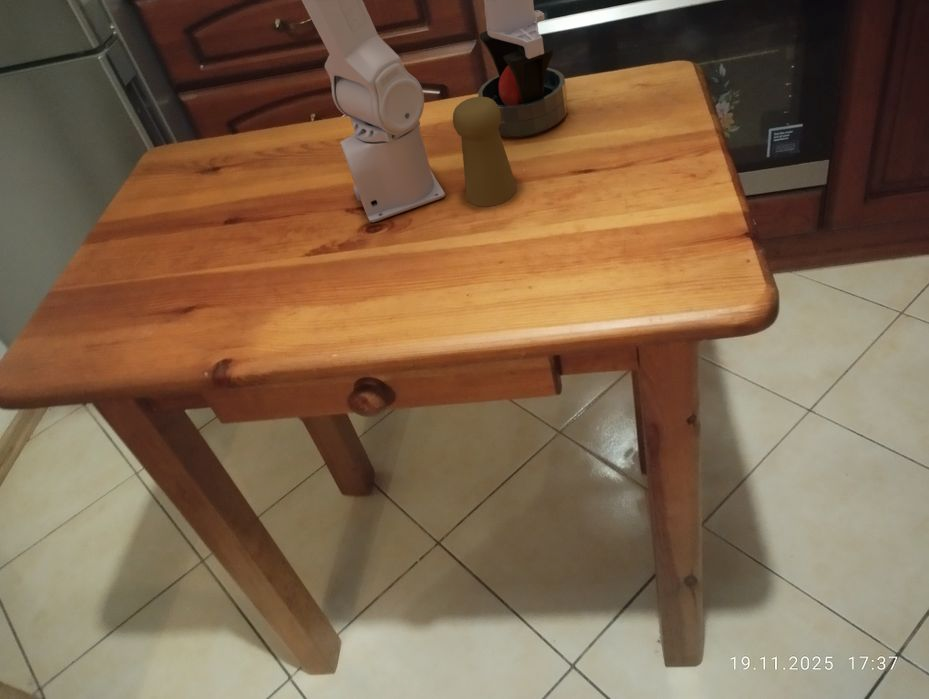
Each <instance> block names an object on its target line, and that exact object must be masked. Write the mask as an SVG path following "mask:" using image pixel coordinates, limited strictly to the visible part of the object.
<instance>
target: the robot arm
mask: <svg viewBox="0 0 929 699" xmlns="http://www.w3.org/2000/svg"><path fill="white" fill-rule="evenodd" d="M301 2H302V4H303V6H304V8H305V9H306V12H307V14H308V15H309V17H310V19H311V21H312V23H313V25H314V27H315V29H316V31H317V33H318V35H319V37H320V38H321V40H322V43H323V45H324V46H325V48H326V50H327V52H328V57H327V59H326V61H325V63H324V70H325V71H326V73H327V75H328V77H329V79H330V85H331V96H332V100H333V102H334V105H335V107H336V108H337V109H338V110H339V112H341V114H342V115H345V116H347V117H349V118H350V121H351V125H352V128H353V131H354V133H353V134H351V135H349V136H348V137H346V138H344V139H342V140H340V141H339V144H340V148H341V150H342V153H343V156H344V159H345V161H346V165H347V167H348V170H349V173H350V175H351V178H352V181H353V184H354V185H353V186H352V188H353V192H354V194H355V197H356V199H357V201H358V202H360V203H361V205H362V207H363V209H364V212H365V213H366V216H367V219H368V221H369V223H376V222H379V221H381V220H384V219H387V218H390V217H392V216H393V217H394V216H396V215H398V214H399V215H400V214H402V213H404V212H407V211H411V210H412V209H415V208H418V207H421V206H424V205H427V204H429V203H432V202H434V201H438V200H441V199H443V198H445V197H446V193H445V190H444V189H443V188H442V186H441V184H440V183H439V182H438V179H437V178H436V177H435V175H434V173H433V171H432V170H431V166H430V162H429V158H428V155H427V150H426V146H425V143H424V139H423V135H422V131H421V127H420V125H421V122H420V120H421V117H422V116H423V112H424V107H425V94H424V89H423V87H422V85H421V83H420V82H419V80H418V78H416V77H415V76H414V75H412V74H411V73H409V71H407V69H406V68H405V65H404V63H403V61H402V59H401V57H400V55H398V53H396V52H395V51H394V50H393V48H391V46H390V45H388V44H387V43H386V42H385V41H384V40H383V38H382V37H381V36H379V34H378V32H377V29H376V27H375V25H374V23H373V21H372V18H371V16H370V14H369V12H368V10H367V7H366V4H365V2H364V1H363V0H301ZM483 3H484V4H483V5H484V9H483V10H484V16H485V20H486V30H485V31H483V32H480V34H479V35H478V37H479V39H480V41H481V42H482V43H483V44H484V46H485V47H486V49H487V51H488V53H489V55H490V56H491V59H492V61H493V63H494V66H495V69H496V71H497V74H498V75H499V77H501V75H502V73H503V71H504V70H505V68H506V67H507V66H509V67H510V69H511V71H512V73H513V75H514V77H515V79H516V82H517V85H518V89H519V92H520V96H521V99H522V102H523V104H525V103H530V102H533V101H536V100H539V99H542V96H543V88H544V80H545V75H546V71H547V68H549V65H550V62H551V60H552V58H553V55H554V49H553V47H552V46H551V45H550V44H548V43H547V44H544V40H543V36H542V35H541V34H540V32H539V25H538V24H539V22H543V21H544V20H545V19H546V18H545V13H544V12H543V11H542V10H537V9H536V10H535V7H534V6H535V5H534V0H483Z"/></svg>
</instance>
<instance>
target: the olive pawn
mask: <svg viewBox="0 0 929 699" xmlns="http://www.w3.org/2000/svg"><path fill="white" fill-rule="evenodd" d="M500 122H501V113H500V109H499V107H498V105H497V104H496V102H495V101H494V100H493V99H491V98H488V97H478V96H473V97H470V98H467V99H465V100H462V101H461V102H460V103H458V104H457V105H456V106H455V108H454V110H453V113H452V124H453V128H454V130H455V132H456V133H457V135H458V136H460V138H461V150H462V161H463V174H464V187H465V189H464V190H465V198H466V200H467V202H468V203H470V204H471V205H473V206H477V207H485V208H486V207H494V206H498V205H501V204H504V203H505V202H507V201H509V200H510V199H511V198H513V197H514V196H515V194H516V193H517V190H518V189H517V186H518V185H517V183H516V180H515V177H514V174H513V171H512V170H513V169H512V167H511V164H510V161H509V158H508V154H507V151H506V148H505V146H504V142H503V139H502V136H500V133H499V130H498V128H499V126H500Z"/></svg>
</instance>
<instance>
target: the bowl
mask: <svg viewBox="0 0 929 699" xmlns="http://www.w3.org/2000/svg"><path fill="white" fill-rule="evenodd" d="M499 80H500V77H499V74H498V75H496V76H493V77H491V78H490V79H488V80H487V81H486V82H485V83H483V84H481V87H480V88H479V89H478V92H477V97H488V98H491V99H493V100H494V101H495V102H496V104H497V105H498V107H499V109H500V113H501V122H500V126H499V128H498V130H499V133H500V136H501V137H506V138H527V137H530V136H534V135H538V134H541V133H544V132H546V131H548V130H550V129H551V128H553V127H554V126H556V125H557V124H558V123H560V122H561V121H562V120H563V119H564V118H565V116H566V114H567V112H568V110H569V107H568V96H567V87H566V79H565V74H563V73H562V72H560V71H559V70H558V69H554V68H552V67H547V71H546V75H545V80H544V91H543V96H542V99H539V100H536V101H533V102H530V103H525V104H520V105H507V106H506V105H505V104H504V103H503V102H502V100H501V98H500V94H499Z"/></svg>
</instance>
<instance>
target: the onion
mask: <svg viewBox="0 0 929 699" xmlns="http://www.w3.org/2000/svg"><path fill="white" fill-rule="evenodd" d="M543 91H544V88H543ZM499 94H500V98H501V100H502V102H503V103H504V104H505V105H506V106H507V105H520V104H523V102H522V99H521V96H520V92H519V89H518V85H517V82H516V79H515V77H514V75H513V73H512V71H511V69H510V67H509V66H507V67H506V68H505V70H504V71H503V73H502V75H501V77H500V80H499Z"/></svg>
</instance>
